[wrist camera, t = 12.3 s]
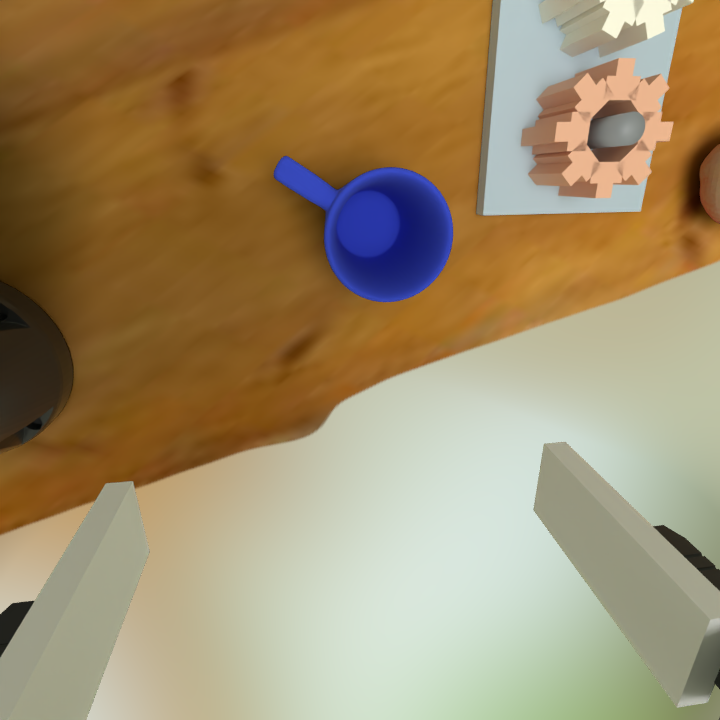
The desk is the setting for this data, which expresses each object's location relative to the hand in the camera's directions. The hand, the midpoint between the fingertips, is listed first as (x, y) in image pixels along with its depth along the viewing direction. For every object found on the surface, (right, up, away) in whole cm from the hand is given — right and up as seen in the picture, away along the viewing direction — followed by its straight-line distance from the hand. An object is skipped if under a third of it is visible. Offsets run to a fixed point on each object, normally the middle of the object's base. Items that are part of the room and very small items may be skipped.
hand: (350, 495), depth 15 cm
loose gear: (+17, +22, +21) cm, 35 cm away
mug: (-1, +17, +23) cm, 28 cm away
